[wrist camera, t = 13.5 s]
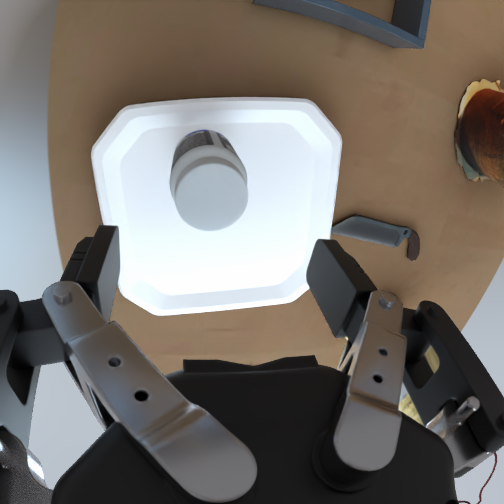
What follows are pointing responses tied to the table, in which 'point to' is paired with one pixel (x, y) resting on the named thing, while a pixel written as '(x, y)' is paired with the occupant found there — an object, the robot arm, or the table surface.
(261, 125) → the plate
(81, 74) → the table surface
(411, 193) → the table surface
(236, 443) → the robot arm
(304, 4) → the square frame
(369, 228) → the knife
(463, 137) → the vessel
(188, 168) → the pill bottle
